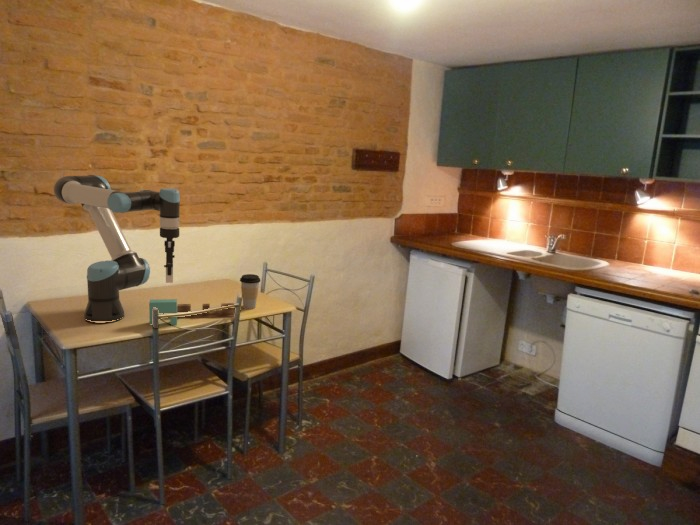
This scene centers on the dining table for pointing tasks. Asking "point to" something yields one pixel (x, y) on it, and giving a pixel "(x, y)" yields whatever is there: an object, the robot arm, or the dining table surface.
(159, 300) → the clip
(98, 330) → the dining table surface
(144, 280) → the robot arm
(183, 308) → the rail
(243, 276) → the coffee cup
